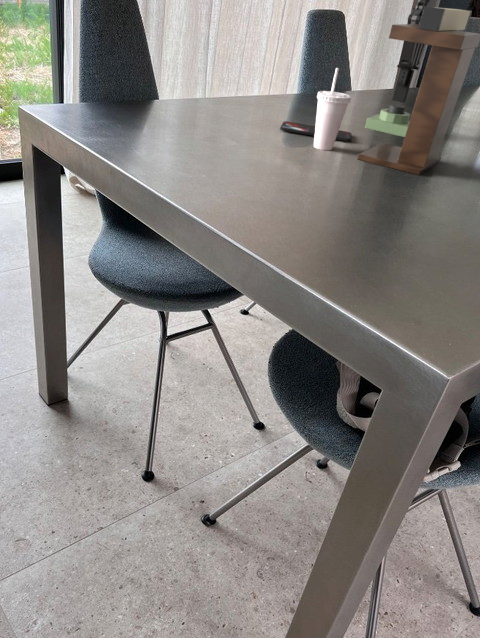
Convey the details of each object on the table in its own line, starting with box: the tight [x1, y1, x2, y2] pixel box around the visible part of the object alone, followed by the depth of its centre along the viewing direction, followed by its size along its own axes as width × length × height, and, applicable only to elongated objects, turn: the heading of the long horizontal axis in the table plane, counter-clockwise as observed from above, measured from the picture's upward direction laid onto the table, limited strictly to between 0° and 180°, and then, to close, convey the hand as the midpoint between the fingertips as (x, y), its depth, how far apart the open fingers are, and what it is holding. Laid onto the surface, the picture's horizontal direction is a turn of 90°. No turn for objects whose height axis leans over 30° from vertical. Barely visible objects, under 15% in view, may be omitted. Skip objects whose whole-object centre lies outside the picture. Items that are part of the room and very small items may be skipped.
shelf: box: [357, 23, 480, 176], centre depth 104 cm, size 12×14×22 cm
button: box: [387, 103, 406, 114], centre depth 130 cm, size 4×4×2 cm
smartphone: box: [279, 121, 352, 143], centre depth 121 cm, size 7×1×15 cm
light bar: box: [418, 6, 473, 31], centre depth 99 cm, size 3×22×3 cm, turn 147°
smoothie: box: [313, 67, 352, 151], centre depth 108 cm, size 6×6×14 cm
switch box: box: [364, 108, 411, 138], centre depth 131 cm, size 10×8×4 cm
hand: (398, 100), depth 129 cm, fingers closed
